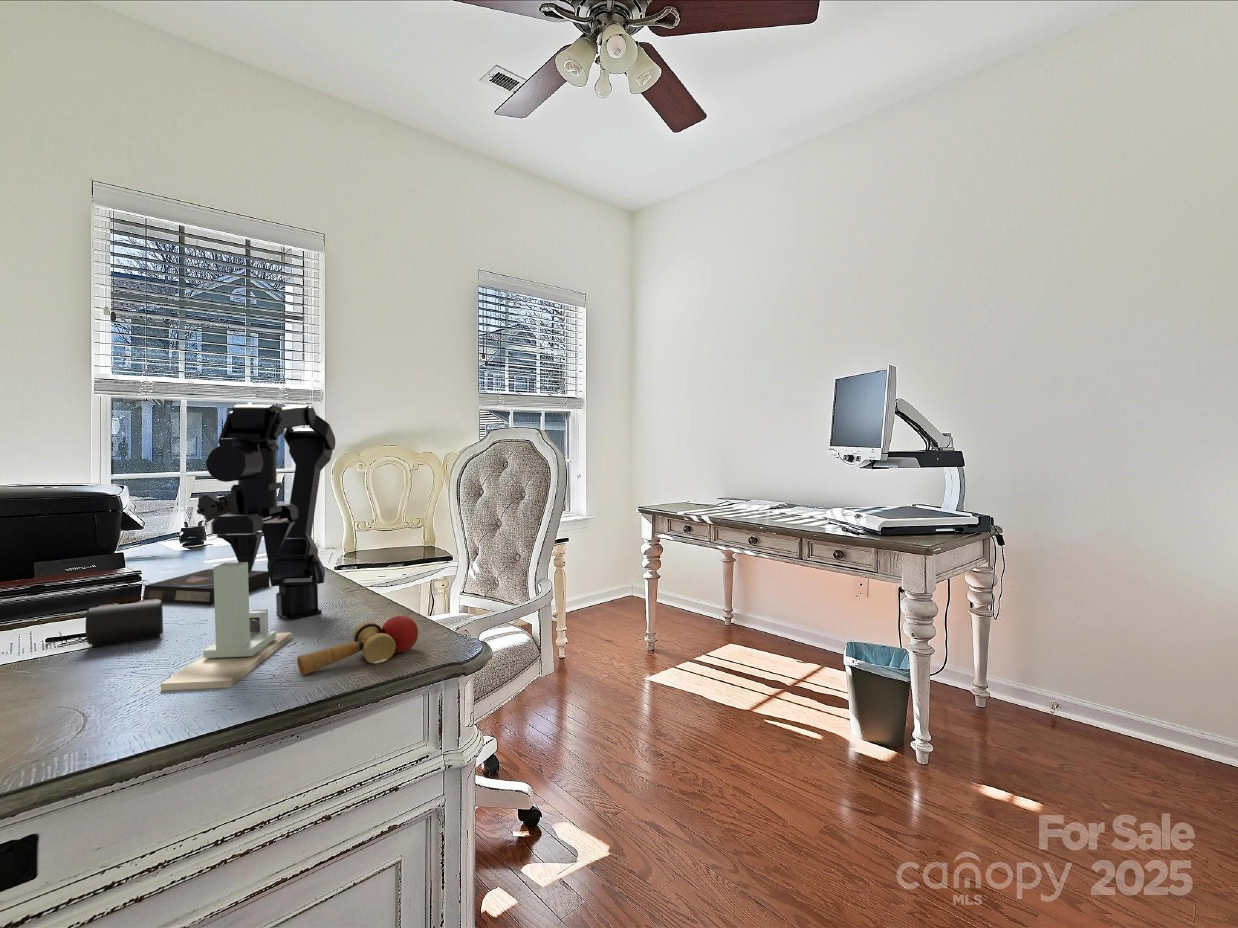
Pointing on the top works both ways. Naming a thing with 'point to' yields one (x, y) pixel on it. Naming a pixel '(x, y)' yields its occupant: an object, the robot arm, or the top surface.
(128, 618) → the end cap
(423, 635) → the top surface
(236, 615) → the tall sage green column
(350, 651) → the kendama
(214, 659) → the board
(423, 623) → the top surface
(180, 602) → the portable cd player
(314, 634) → the top surface
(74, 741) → the top surface
